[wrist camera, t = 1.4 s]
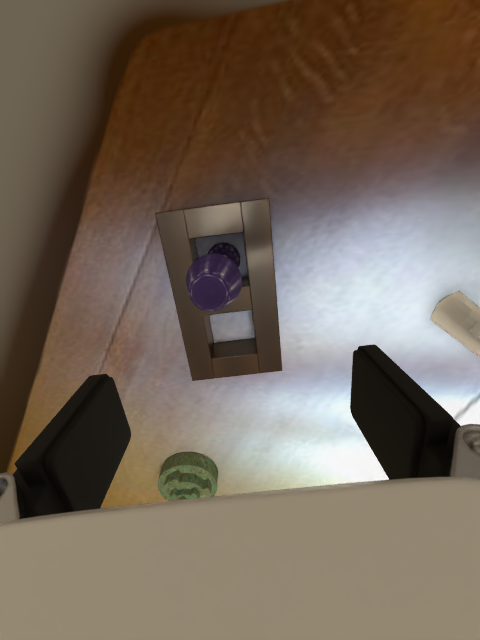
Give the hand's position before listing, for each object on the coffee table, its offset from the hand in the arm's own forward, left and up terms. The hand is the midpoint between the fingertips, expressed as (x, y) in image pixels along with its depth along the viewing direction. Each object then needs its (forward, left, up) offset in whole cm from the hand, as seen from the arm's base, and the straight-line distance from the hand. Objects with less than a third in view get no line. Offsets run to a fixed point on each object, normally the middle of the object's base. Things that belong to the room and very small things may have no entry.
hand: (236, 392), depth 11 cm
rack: (+4, +1, -27) cm, 27 cm away
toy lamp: (0, -2, -27) cm, 27 cm away
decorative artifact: (+37, +11, -27) cm, 47 cm away
